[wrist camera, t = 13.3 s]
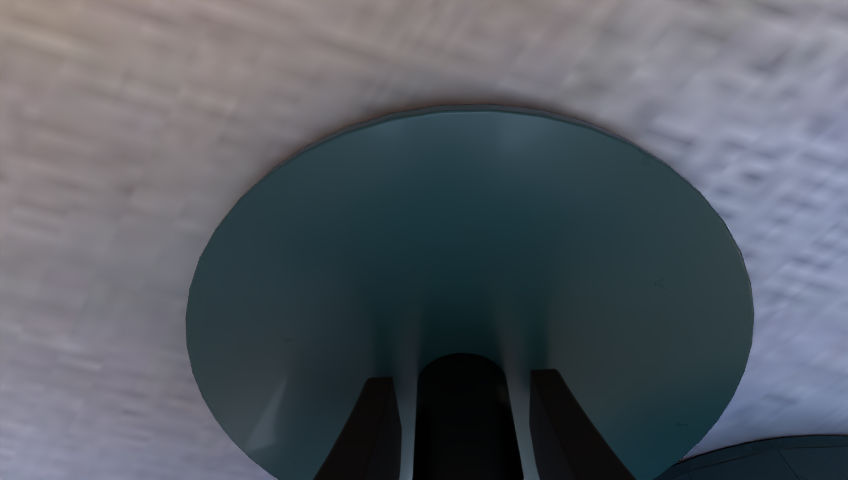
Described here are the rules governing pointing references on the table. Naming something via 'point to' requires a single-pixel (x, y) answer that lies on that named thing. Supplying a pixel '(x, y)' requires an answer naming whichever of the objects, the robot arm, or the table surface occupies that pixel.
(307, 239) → the lid
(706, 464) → the pot
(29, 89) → the table surface
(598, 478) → the robot arm
